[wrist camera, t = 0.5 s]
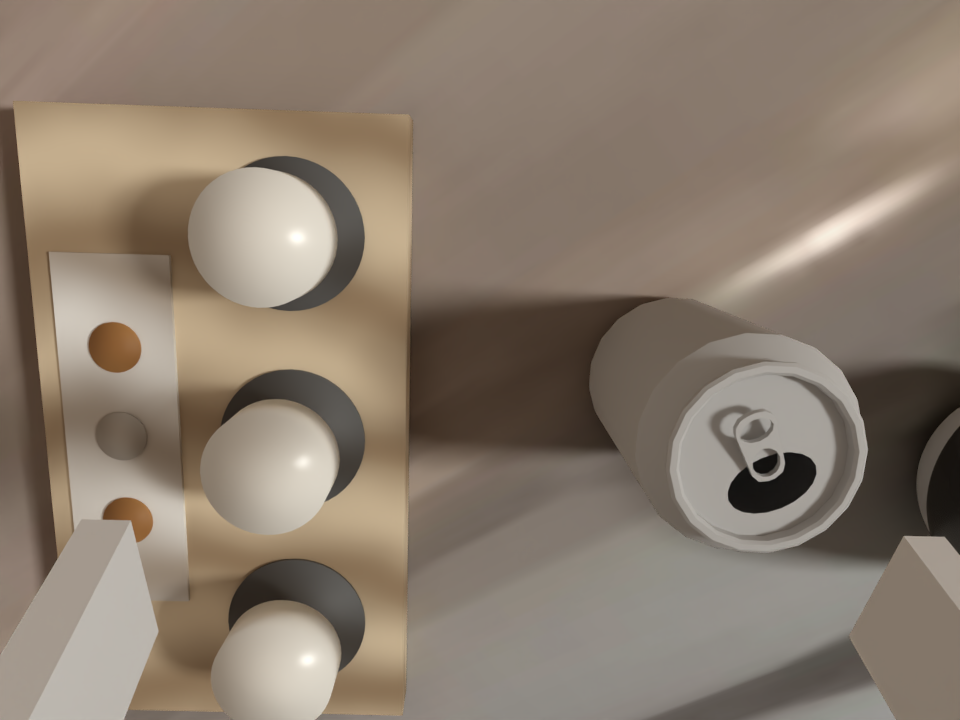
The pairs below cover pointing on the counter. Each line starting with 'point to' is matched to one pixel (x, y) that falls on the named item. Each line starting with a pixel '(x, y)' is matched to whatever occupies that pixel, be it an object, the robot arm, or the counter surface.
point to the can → (729, 425)
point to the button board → (224, 372)
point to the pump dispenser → (941, 481)
